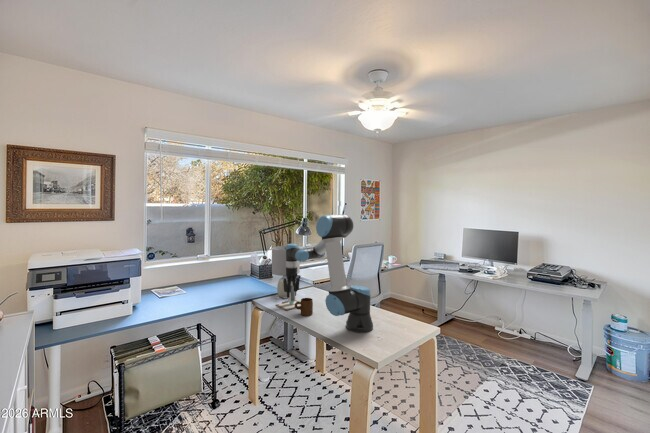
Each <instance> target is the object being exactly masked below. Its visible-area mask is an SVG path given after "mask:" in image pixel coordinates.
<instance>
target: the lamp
mask: <svg viewBox="0 0 650 433" xmlns="http://www.w3.org/2000/svg"><path fill="white" fill-rule="evenodd" d="M297 247H298V246H297ZM298 249H301V248H300V247H298ZM300 262H301V261H298V260H297V275H299V274H300V272H301V271H300V268H301V267H300V264H301V263H300ZM271 273H272V274H273V275H275V276H282V277H280V279H279V280H278V282H277V284H276V285H277V287H276V290H277V292H276V293H277V295H278V296H279V297H280V298H281V299H282V298H284V299H288V297H287V292H284V283H283V279H282V278H284V277H286V245H280V246H274V247H272V248H271ZM287 283H288V282H287ZM291 285H293V284H292V282H291Z"/></svg>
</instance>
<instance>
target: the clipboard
mask: <svg viewBox="0 0 650 433" xmlns="http://www.w3.org/2000/svg"><path fill="white" fill-rule="evenodd" d="M298 301H299V300H297V299H295V301H294V304H289V302H288V300H285V301H282V302H281V303H279V304H278V303H276V304H275V306H276V307H278V308H279V309H281V310H284V311H285V312H288V311H291V310H295V309H296V308H295V303H296V302H298ZM297 306H298V307H301V304H297ZM296 310H297V309H296Z"/></svg>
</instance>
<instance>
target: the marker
mask: <svg viewBox="0 0 650 433" xmlns="http://www.w3.org/2000/svg"><path fill="white" fill-rule="evenodd" d="M290 293H291V302H289V304H294V286H293V285H291V287H290Z"/></svg>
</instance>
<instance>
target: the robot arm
mask: <svg viewBox="0 0 650 433" xmlns="http://www.w3.org/2000/svg"><path fill="white" fill-rule="evenodd" d="M354 227H355V226H354V222H353V219H352V218H351V217H350V216H349V215H347V214H325V215H321V216H320V217H319V218H318V219H317V221H316V226H315V230H316V234H317V235H318V237H321V240H320V241H319V242H318V243H316V245H314V246H313V247H305V248H300V249H298V244H297V243H288V244H286V245H285V246H286V277H284V278H282V277H281V278H282V279H283V283H284V292H287V297H288V298H287V301H288V302H291V293H290V287H291V282H292V284H293V286H294V301H295V300H296V296H297V292H298V291H299V290H300V280H301V279H300V278H301V275H300V274H297V260H298V261H300V262H301V263H302V262H306V261H309V260H317V259H321V258H324V257H325V255H326V258H327V267H328V275H329V276H328V277H329V283H330V288H329V289H328V295H326V297H325V301H324V302H325V307H326V309H327V310H328V312H329V313H330V314H331V315H332V316H335V317H339V316H344V315H345V314H348V317H347V320H346V324H345V325H346V326H345V327H346V329H347V330H349V331H352V332H355V333H368V332H371V331H372V330H373V329H374V323H373V320H372V316H371V296H372V295H371V289H370V288H368V287H366V286H364V285H356V284H355V285H353V284H352V285H350V286H348V285H347V278H346V271H345V264H344V258H343V257H344V256H343V249H342V243H341V242H342V239H344V238H347V237H348V236H349V235H351V233H352V232H353V230H354ZM287 282H288V283H287Z"/></svg>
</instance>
